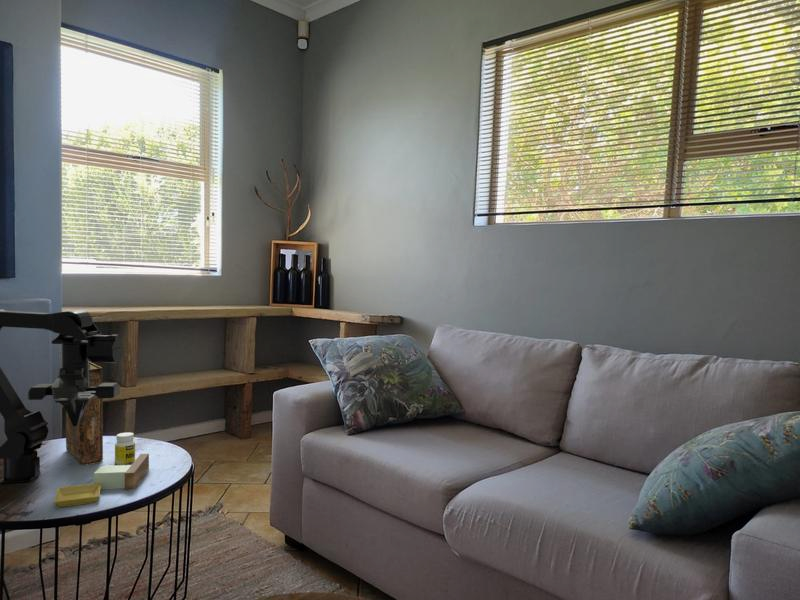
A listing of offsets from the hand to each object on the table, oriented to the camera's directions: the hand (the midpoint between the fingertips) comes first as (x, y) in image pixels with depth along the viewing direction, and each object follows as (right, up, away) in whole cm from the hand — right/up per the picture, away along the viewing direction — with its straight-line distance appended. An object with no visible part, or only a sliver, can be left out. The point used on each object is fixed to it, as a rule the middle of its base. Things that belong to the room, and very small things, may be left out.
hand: (75, 426), depth 137 cm
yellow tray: (+7, -14, -11) cm, 19 cm away
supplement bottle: (+7, -13, +10) cm, 18 cm away
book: (-8, -12, +18) cm, 23 cm away
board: (+14, -13, +1) cm, 20 cm away
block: (+10, -14, -2) cm, 17 cm away
